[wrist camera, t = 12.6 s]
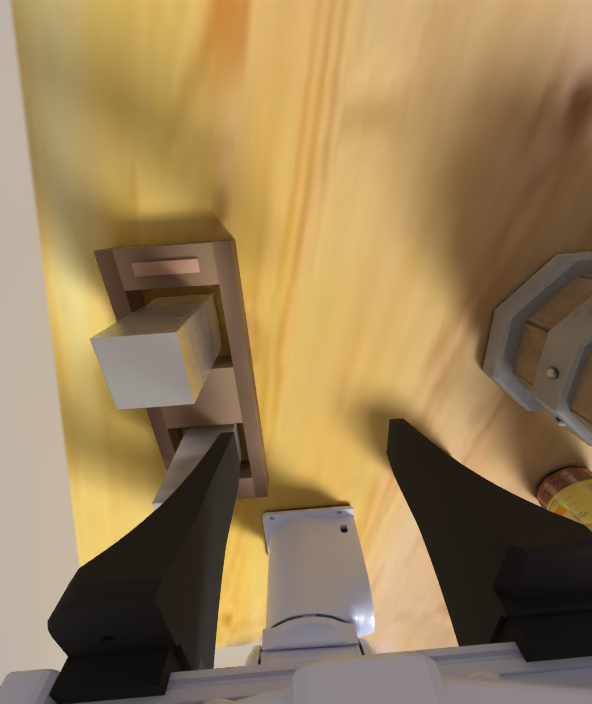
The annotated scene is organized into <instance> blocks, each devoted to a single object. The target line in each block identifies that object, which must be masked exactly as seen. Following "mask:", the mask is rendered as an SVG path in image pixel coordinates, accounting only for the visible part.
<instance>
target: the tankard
mask: <svg viewBox="0 0 592 704" xmlns="http://www.w3.org/2000/svg"><path fill="white" fill-rule="evenodd" d="M483 371H484V372H485V373H486V374H487V375H488V376H489V377H490V378H491V379H492V380H493V381H494V382H495V383H496V384H497V385H498V386H499V387H500V388H501V389H502V390H504V391H505V392H506V393H507V394H508V395H509V396H510V397H511V398H512V399H513V400H514V401H515V402H516V403H517V404H519V405H520V406H521V407H523V408H524V409H525V410H526V411H536V410H547V411H548V412H549V413H550V414H551V415H552V416H553V417H554V418H555V422H556V424H558V425H560V426H563V427H565V428H566V429H567V430H569V431H570V432H571V433H573V434H574V435H576V436H577V437H578V438H580V439H581V440H582V441H584V442H585V443H587V444H588V445H589V446H592V251H584V252H574V253H564V254H556V255H555V256H554V257H553V258H552V259H551V260H550V261H549V262H547V263H546V264H545V265H544V266H543V267H542V268H541V269H540V270H538V271H537V272H536V273H535V274H534V275H533V276H532V277H531V278H530V279H528V280H527V281H526V282H525V283H524V284H523V285H522V286H521V287H520V288H518V289H517V290H516V291H515V292H514V293H513V294H512V295H511V296H510V297H508V298H507V299H506V300H505V301H504V302H503V303H502V304H501V305H500V306H498V307H497V308H496V309H495V310H494V315H493V320H492V325H491V330H490V335H489V340H488V345H487V350H486V355H485V360H484V365H483Z"/></svg>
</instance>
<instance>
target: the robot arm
mask: <svg viewBox="0 0 592 704" xmlns="http://www.w3.org/2000/svg"><path fill="white" fill-rule="evenodd" d="M387 456H388V459H389V462H390V465H391V468H392V471H393V474H394V476H395V478H396V480H397V483H398V485H399V487H400V489H401V491H402V493H403V495H404V497H405V499H406V501H407V503H408V506H409V508H410V510H411V512H412V514H413V516H414V518H415V520H416V522H417V525H418V527H419V529H420V532H421V534H422V537H423V540H424V542H425V545H426V548H427V550H428V553H429V556H430V559H431V562H432V564H433V567H434V570H435V573H436V576H437V579H438V582H439V585H440V588H441V591H442V594H443V597H444V600H445V603H446V606H447V609H448V612H449V615H450V618H451V622H452V625H453V628H454V632H455V635H456V638H457V641H458V645H459V647H449V648H438V649H427V650H416V651H405V652H394V653H383V654H376V653H375V651H374V649H373V648H372V647H371V646H370V645H369V643H368V642H367V640H366V639H364V638H363V639H358V637H360V636H363V635H368V634H371V633H373V632H374V628H375V621H374V609H373V601H372V595H371V589H370V584H369V579H368V574H367V570H366V566H365V562H364V558H363V553H362V549H361V545H360V541H359V537H358V533H357V529H356V525H355V520H354V516H353V508H352V507H351V506H339V507H327V508H315V509H302V510H290V511H278V512H267V513H264V514H263V518H262V519H263V525H264V531H265V538H266V544H267V550H268V556H269V564H268V589H267V614H266V629H263V637H262V647H261V645H259V646H254V648H253V649H252V652H251V653H250V654H249V656H248V657H247V660H246V664H245V666H239V667H227V668H216V669H213V667H214V654H215V642H216V631H217V621H218V610H219V600H220V591H221V582H222V573H223V565H224V557H225V549H226V543H227V538H228V533H229V528H230V524H231V519H232V515H233V510H234V505H235V501H236V496H237V491H238V486H239V476H240V460H239V455H238V449H237V444H236V439H235V434H234V432H224V433H220V434H219V435H218V437H217V438H216V440H215V441H214V443H213V444H212V445H211V447H210V448H209V450H208V451H207V452H206V454H205V455H204V456H203V458H202V459H201V460H200V462H199V463H198V464H197V466H196V467H195V468H194V469H193V471H192V472H191V473H190V474H189V475H188V476H187V478H186V479H185V480H184V481H183V482H182V484H181V485H180V486H179V487H178V488H177V489H176V490H175V491H174V492H173V493H172V494H171V495H170V496H169V497H168V498H167V499H166V500H165V502H164V503H162V504H161V505H160V506H159V507H158V508H157V509H156V510H155V511H154V512H153V513H152V514H150V515H149V516H148V517H147V518H146V519H145V520H144V521H143V522H141V523H140V524H139V525H138V526H137V527H135V528H134V529H133V530H132V531H130V532H129V533H128V534H127V535H125V536H124V537H123V538H121V539H120V540H119V541H118V542H116V543H115V544H113V545H112V546H111V547H109V548H108V549H107V550H105V551H104V552H102V553H101V554H99V555H98V556H96V557H95V558H94V559H92V560H91V561H89V562H88V563H86V564H85V565H83V566H82V567H80V568H79V569H78V571H77V572H76V574H75V576H74V577H73V579H72V580H71V582H70V583H69V585H68V587H67V589H66V590H65V592H64V594H63V595H62V597H61V599H60V601H59V603H58V604H57V606H56V608H55V609H54V611H53V613H52V615H51V616H50V618H49V620H48V630H49V633H50V634H51V636H52V638H53V639H54V640H55V641H56V642H57V644H58V645H59V646H60V647H61V648H62V650H63V651H64V652H65V653H66V654H67V656H68V658H67V660H66V662H65V664H64V666H63V668H62V670H61V672H59V671H57V670H53V669H41V670H30V671H19V672H11V673H10V674H8V675H7V676H6V678H5V679H4V681H3V682H2V685H1V686H0V704H592V531H591V530H590V529H589V528H588V527H587V526H585V525H584V524H581V523H579V522H576V521H574V520H571V519H569V518H566V517H564V516H561V515H559V514H556V513H554V512H551V511H549V510H546V509H544V508H542V507H540V506H538V505H535V504H533V503H531V502H529V501H527V500H525V499H522V498H520V497H518V496H516V495H514V494H512V493H510V492H509V491H507V490H505V489H503V488H501V487H499V486H497V485H495V484H494V483H492V482H490V481H488V480H486V479H485V478H483V477H481V476H480V475H478V474H477V473H475V472H473V471H472V470H470V469H468V468H467V467H465V466H464V465H462V464H461V463H459V462H458V461H457V460H455V459H454V458H452V457H451V456H449V455H448V454H447V453H445V452H444V451H443V450H441V449H440V448H439V447H437V446H436V445H435V444H434V443H432V442H431V441H430V440H429V439H427V438H426V437H425V436H424V435H422V434H421V433H420V432H419V431H418V430H416V429H415V428H414V427H413V426H412V425H410V424H409V423H408V422H407V421H405V420H404V419H390V423H389V434H388V445H387Z"/></svg>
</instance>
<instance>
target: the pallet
mask: <svg viewBox="0 0 592 704" xmlns="http://www.w3.org/2000/svg"><path fill="white" fill-rule="evenodd" d="M94 254H95V257H96V260H97V263H98V266H99V269H100V272H101V275H102V278H103V281H104V284H105V287H106V290H107V293H108V296H109V299H110V302H111V305H112V308H113V311H114V314H115V316H116V319H117V322H118V321H120V320H121V319H123V318H125V317H126V316H128V315H130V314H131V313H133V312H135V311H136V310H138V309H140V308H141V307H143V306H144V305H145V304H144V301H143V297H142V294H141V290H145V289H159V288H174V287H188V286H202V285H216V284H219V287H220V293H221V299H222V305H223V311H224V317H225V322H226V328H227V334H228V340H229V346H230V352H231V356H227V357H217V358H216V360H215V362H214V364H213V366H212V368H211V370H210V372H209V374H208V376H207V378H206V381H205V383H204V385H203V387H202V389H201V391H200V393H199V395H198V397H197V399H196V401H195V403H194V404H187V405H174V406H161V407H148V408H146V409H147V412H148V415H149V418H150V421H151V424H152V427H153V430H154V433H155V436H156V439H157V442H158V445H159V448H160V451H161V454H162V457H163V460H164V463H165V466H166V469H167V473H166V475H165V477H164V479H163V481H162V484H161V486H160V488H159V490H158V492H157V494H156V497H155V499H154V501H153V503H152V504H153V507H154V509H155V510H156V509H157V508H158V507H159V506H160V505H161V504H162V503H164V502H165V500H166V499H167V498H168V497H169V496H170V495H171V494H172V493H173V492H174V491H175V490H176V489H177V488H178V487H179V486H180V485H181V484H182V482H183V481H184V480H185V479H186V478H187V476H188V475H189V474H190V473H191V472H192V471H193V469H194V468H195V467H196V466H197V464H198V463H199V462H200V460H201V459H202V458H203V456H204V455H205V454H206V452H207V451H208V450H209V448H210V447H211V445H212V444H213V443H214V441H215V440H216V438H217V437H218V435H219V434H220V433H224V432H234V434H235V439H236V444H237V449H238V455H239V460H240V476H239V486H238V491H237V496H236V499H241V498H254V497H266V496H267V495H268V473H267V465H266V458H265V451H264V444H263V437H262V430H261V422H260V415H259V408H258V401H257V394H256V387H255V379H254V372H253V365H252V358H251V351H250V344H249V336H248V329H247V322H246V315H245V308H244V301H243V293H242V286H241V279H240V272H239V265H238V258H237V250H236V243H235V240H222V241H207V242H193V243H178V244H164V245H149V246H134V247H120V248H109V249H102V250H95V251H94ZM237 423H243V427H244V433H245V439H246V445H247V451H248V457H249V461H242V462H241V457H242V450H241V445H240V439H239V434H238V428H237ZM183 427H187V429H186V432H185V434H184V436H183V437H182V434H181V430H180V428H183Z"/></svg>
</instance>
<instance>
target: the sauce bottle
mask: <svg viewBox="0 0 592 704" xmlns="http://www.w3.org/2000/svg"><path fill="white" fill-rule="evenodd" d="M537 500H538V501H539V503H540V505H541V506H542V507H543V508H544V509H546V510H549V511H551V512H554V513H556V514H559V515H561V516H564V517H566V518H569V519H571V520H574V521H576V522H579V523H581V524H584V525H585V526H587V527H588V528H589V529H590V530H591V531H592V472H591V471H590V470H588V469H585V468H579V467H571V468H564V469H562V470H560V471H557V472H556V473H554V474H552V475H550V476H548V477H547V478H545V479H544V481H543V482H542V484H541V485H540V486H539V488H538V491H537Z"/></svg>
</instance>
